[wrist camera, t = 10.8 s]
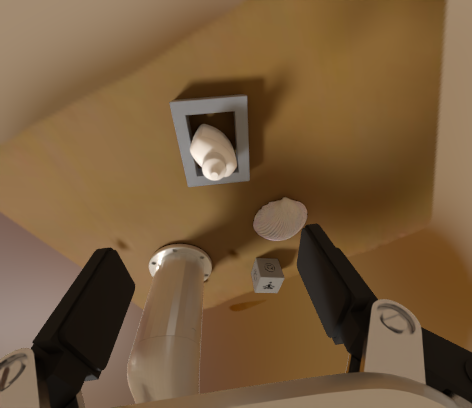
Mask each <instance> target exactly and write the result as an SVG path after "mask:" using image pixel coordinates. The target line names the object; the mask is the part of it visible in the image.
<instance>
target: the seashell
mask: <svg viewBox="0 0 472 408" xmlns="http://www.w3.org/2000/svg"><path fill="white" fill-rule="evenodd" d="M307 214H308V213H307V210H306V208H305V206H304V205H303V204H302V203H300V202H299V201H295V200H290V199H288V198H286V197H284V198H282V200H278V201H276V202H269V204H268V205H264V206H263V207H262V209H261V210H259V211H258V213H256V215H255V218H254V221H253V227H254V230H255V231H256V232H257V233H258V235H260V236H261V237H264V238H265V239H268V240H273V241H282V240H286V239H289V238H290V237H292V236H294V235H295V234H296V233H298V232H299V230H300V229H301V228H302V227H303V226H304V224H305V223H306V220H307Z"/></svg>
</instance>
